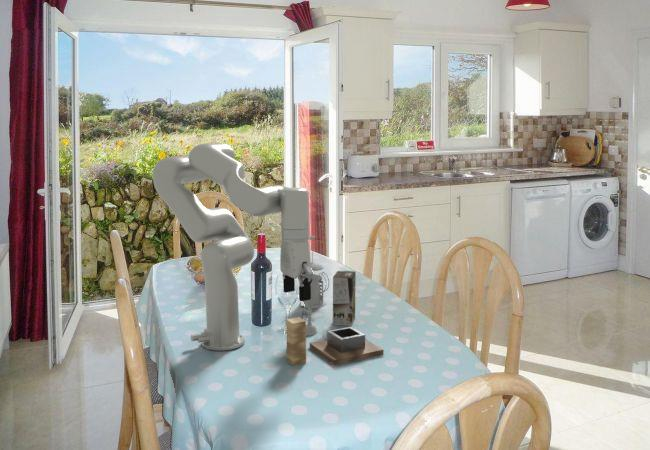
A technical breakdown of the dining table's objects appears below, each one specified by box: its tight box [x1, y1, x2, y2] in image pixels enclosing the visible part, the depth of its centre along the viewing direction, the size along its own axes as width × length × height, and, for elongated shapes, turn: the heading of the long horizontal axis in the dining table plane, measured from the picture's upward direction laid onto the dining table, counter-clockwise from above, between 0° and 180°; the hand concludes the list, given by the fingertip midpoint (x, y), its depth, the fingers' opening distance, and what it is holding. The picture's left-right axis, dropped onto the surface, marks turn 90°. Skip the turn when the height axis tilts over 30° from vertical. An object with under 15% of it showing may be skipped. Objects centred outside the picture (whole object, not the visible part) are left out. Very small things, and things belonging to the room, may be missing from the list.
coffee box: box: [332, 270, 356, 327], centre depth 209 cm, size 9×6×16 cm
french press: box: [298, 235, 330, 309], centre depth 226 cm, size 10×12×25 cm
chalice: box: [298, 273, 322, 336], centre depth 198 cm, size 7×7×18 cm
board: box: [309, 338, 384, 366], centre depth 184 cm, size 16×15×2 cm
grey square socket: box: [326, 326, 366, 353], centre depth 183 cm, size 8×8×4 cm
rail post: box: [285, 316, 307, 366], centre depth 175 cm, size 4×4×12 cm
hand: (297, 295), depth 173 cm, fingers open, 9 cm apart
